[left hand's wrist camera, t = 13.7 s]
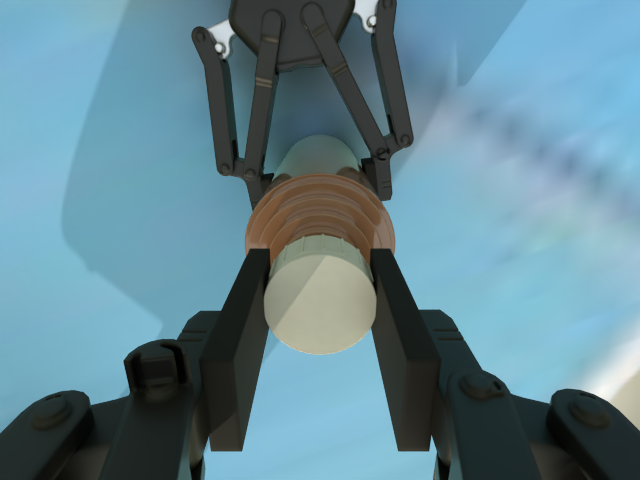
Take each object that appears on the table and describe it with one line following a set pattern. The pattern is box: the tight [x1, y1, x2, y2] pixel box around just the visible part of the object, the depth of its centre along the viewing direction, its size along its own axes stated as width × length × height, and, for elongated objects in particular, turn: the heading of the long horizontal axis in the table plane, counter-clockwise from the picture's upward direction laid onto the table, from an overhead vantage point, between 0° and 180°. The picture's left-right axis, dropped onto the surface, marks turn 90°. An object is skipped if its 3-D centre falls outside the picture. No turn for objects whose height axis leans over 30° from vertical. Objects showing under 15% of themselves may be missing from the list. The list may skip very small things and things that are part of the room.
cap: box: [264, 234, 377, 354], centre depth 14 cm, size 4×4×2 cm
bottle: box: [245, 134, 395, 266], centre depth 24 cm, size 7×7×24 cm
